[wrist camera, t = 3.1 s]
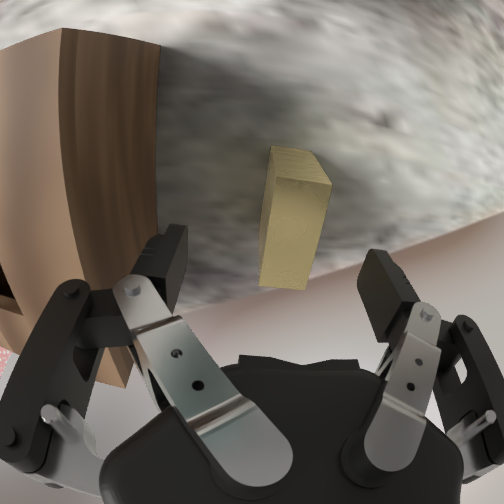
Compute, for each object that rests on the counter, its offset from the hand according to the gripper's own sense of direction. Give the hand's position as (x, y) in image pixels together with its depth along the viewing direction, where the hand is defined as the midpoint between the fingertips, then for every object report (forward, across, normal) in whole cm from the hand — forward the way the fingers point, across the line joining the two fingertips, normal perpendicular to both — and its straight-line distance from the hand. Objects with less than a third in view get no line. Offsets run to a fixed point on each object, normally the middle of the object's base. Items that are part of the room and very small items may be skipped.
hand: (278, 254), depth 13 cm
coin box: (+8, +15, 0) cm, 17 cm away
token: (+8, -1, 0) cm, 8 cm away
